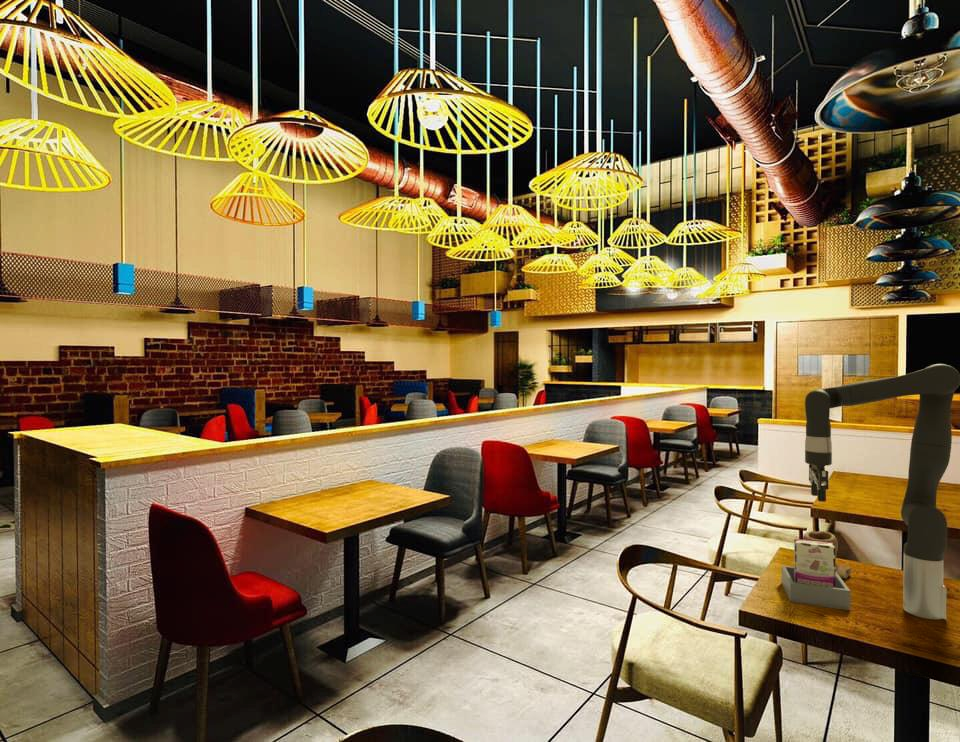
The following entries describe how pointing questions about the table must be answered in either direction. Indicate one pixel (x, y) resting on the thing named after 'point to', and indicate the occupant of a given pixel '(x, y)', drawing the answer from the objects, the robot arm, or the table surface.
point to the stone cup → (830, 538)
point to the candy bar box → (814, 563)
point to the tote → (816, 592)
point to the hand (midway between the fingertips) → (818, 498)
